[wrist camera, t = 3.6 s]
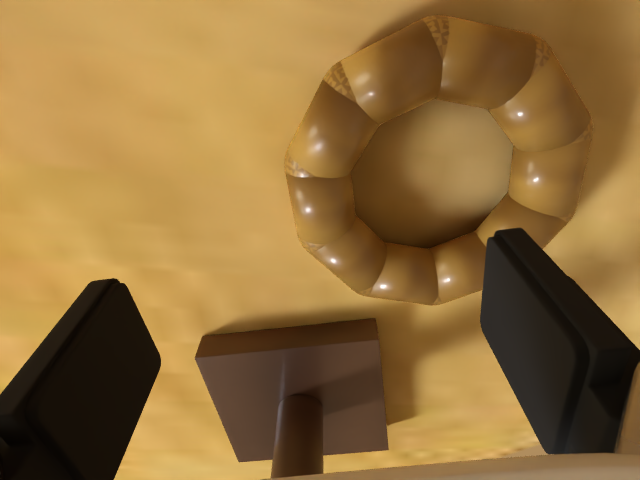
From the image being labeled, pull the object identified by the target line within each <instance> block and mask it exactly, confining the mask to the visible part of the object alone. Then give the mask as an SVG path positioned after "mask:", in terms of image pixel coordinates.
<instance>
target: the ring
mask: <svg viewBox="0 0 640 480" xmlns="http://www.w3.org/2000/svg"><path fill="white" fill-rule="evenodd" d="M433 99H439V100H444V101H449V102H455V103H460V104H465V105H470V106H476V107H481V108H486V109H488V110H489V112H490V113H491V115H492V116H493V117H494V119H495V120H496V121H497V123H498V124H499V126H500V127H501V128H502V130H503V131H504V132H505V134H506V135H507V137H508V138H509V139H510V141H511V142H512V143H513V145H514V146H513V155H512V164H511V173H510V182H509V190H508V193H507V194H506V195H505V196H504V197H503V199H502V200H501V201H500V202H499V203H498V205H497V206H496V207H495V208H494V209H493V210H492V212H491V213H490V214H489V215H488V216H487V218H486V219H485V220H484V221H483V222H482V223H481V225H480V226H479V227H478V228H477V229H476V231H473V232H471V233H468V234H466V235H463V236H460V237H458V238H455V239H453V240H450V241H447V242H445V243H442V244H440V245H437V246H434V247H432V248H429V249H426V248H419V247H413V246H406V245H400V244H393V243H387V242H383V241H382V240H381V239H380V238H379V237H378V236H377V235H376V234H375V233H374V232H373V231H372V230H371V229H370V228H369V227H368V226H367V225H366V224H365V223H364V222H363V221H362V220H361V219H360V218H359V217H357V216H356V215H355V207H354V197H353V188H352V178H351V171H352V169H353V167H354V166H355V164H356V162H357V161H358V159H359V157H360V156H361V154H362V152H363V151H364V149H365V147H366V146H367V144H368V143H369V141H370V139H371V138H372V136H373V134H374V133H375V131H376V129H377V128H378V126H379V125H380V124H382V123H384V122H386V121H388V120H391V119H393V118H395V117H397V116H399V115H401V114H403V113H405V112H408V111H410V110H412V109H414V108H416V107H418V106H420V105H422V104H425V103H427V102H429V101H431V100H433ZM592 136H593V120H592V117H591V115H590V113H589V111H588V109H587V108H586V106H585V104H584V103H583V101H582V99H581V98H580V96H579V95H578V93H577V91H576V90H575V88H574V86H573V85H572V83H571V81H570V80H569V78H568V76H567V75H566V73H565V71H564V70H563V68H562V66H561V65H560V63H559V61H558V60H557V58H556V56H555V55H554V53H553V51H552V50H551V48H550V47H549V46H548V44H547V43H546V42H545V41H544V40H543V39H541V38H540V37H538V36H536V35H533V34H531V33H526V32H521V31H517V30H512V29H507V28H502V27H498V26H493V25H488V24H483V23H479V22H474V21H469V20H464V19H460V18H455V17H450V16H445V15H433V16H428V17H425V18H422V19H420V20H418V21H416V22H414V23H412V24H410V25H408V26H406V27H405V28H403V29H401V30H399V31H397V32H395V33H393V34H391V35H389V36H387V37H385V38H383V39H382V40H380V41H378V42H376V43H374V44H372V45H370V46H368V47H366V48H364V49H362V50H360V51H358V52H357V53H355V54H353V55H351V56H349V57H347V58H345V59H343V60H341V61H339V62H338V63H336V64H335V65H334V66H333V67H332V68H331V69H330V70H329V71H328V72H327V74H326V75H325V77H324V78H323V80H322V82H321V84H320V86H319V88H318V90H317V92H316V94H315V96H314V98H313V100H312V102H311V104H310V106H309V108H308V110H307V112H306V114H305V116H304V118H303V120H302V122H301V124H300V126H299V128H298V130H297V132H296V134H295V136H294V138H293V140H292V142H291V144H290V146H289V148H288V150H287V152H286V155H285V162H284V163H285V173H286V178H287V183H288V188H289V193H290V199H291V204H292V209H293V214H294V219H295V224H296V230H297V235H298V238H299V240H300V242H301V244H302V246H303V247H304V248H305V249H306V250H307V251H308V252H309V253H310V254H311V255H313V256H314V257H315V258H316V259H317V260H318V261H319V262H321V263H322V264H323V265H324V266H325V267H326V268H328V269H329V270H330V271H331V272H332V273H333V274H335V275H336V276H337V277H338V278H339V279H340V280H342V281H343V282H344V283H345V284H346V285H347V286H349V287H350V288H351V289H352V290H353V291H355V292H356V293H358V294H360V295H363V296H368V297H375V298H382V299H389V300H396V301H403V302H410V303H417V304H424V305H440V304H443V303H446V302H449V301H452V300H455V299H458V298H460V297H463V296H466V295H469V294H472V293H475V292H478V291H480V290H483V279H484V268H485V256H486V244H487V239H488V238H489V237H494V233H495V231H497V230H503V229H511V228H522V229H524V230H525V231H526V232H527V234H528V235H529V236H530V237H531V238H532V239H533V240H534V241H535V242H536V243H537V244H538V245H539V246H540V247H541V249H543V248H544V247H545V246H546V245H547V244H548V243H549V242H550V241H551V240H552V239H553V238H554V237H555V236H556V235H557V234H558V233H559V232H560V231H561V229H562V228H563V227H564V226H565V225H566V224H567V223H568V222H569V221H570V220H571V219H572V217H573V216H574V214H575V212H576V209H577V206H578V201H579V197H580V192H581V187H582V183H583V178H584V173H585V169H586V164H587V159H588V155H589V150H590V145H591V141H592Z"/></svg>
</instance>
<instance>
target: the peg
mask: <svg viewBox="0 0 640 480" xmlns="http://www.w3.org/2000/svg"><path fill="white" fill-rule="evenodd" d="M195 360H196V362H197V365H198V367H199V369H200V372H201V374H202V377H203V379H204V381H205V384H206V386H207V388H208V391H209V393H210V395H211V398H212V400H213V402H214V405H215V407H216V410H217V412H218V414H219V417H220V419H221V421H222V424H223V426H224V428H225V431H226V433H227V435H228V438H229V440H230V443H231V445H232V447H233V450H234V452H235V454H236V457H237V459H238V461H239V462H248V461H261V460H273V462H272V472H271V479H272V478H283V477H294V476H304V475H315V474H323V455H334V454H346V453H359V452H371V451H383V450H388V437H387V426H386V414H385V402H384V390H383V379H382V367H381V355H380V344H379V336H378V330H377V324H376V319H375V318H373V319H364V320H354V321H345V322H335V323H326V324H316V325H306V326H297V327H287V328H278V329H268V330H259V331H249V332H239V333H230V334H220V335H211V336H203V337H202V339H201V341H200V344H199V347H198V350H197V353H196V356H195Z"/></svg>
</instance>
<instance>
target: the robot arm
mask: <svg viewBox="0 0 640 480" xmlns="http://www.w3.org/2000/svg"><path fill="white" fill-rule="evenodd" d="M480 323H481V328H482V331H483V333H484V335H485V337H486V339H487V341H488V343H489V345H490V347H491V349H492V351H493V353H494V355H495V357H496V359H497V361H498V362H499V364H500V366H501V368H502V370H503V372H504V374H505V376H506V378H507V380H508V382H509V384H510V386H511V388H512V389H513V391H514V393H515V395H516V397H517V399H518V401H519V403H520V405H521V407H522V409H523V411H524V413H525V415H526V417H527V418H528V420H529V422H530V424H531V426H532V428H533V430H534V432H535V434H536V436H537V438H538V440H539V442H540V444H541V445H542V447H543V449H544V450H545V452H546V453H548V454H553V455H539V456H525V457H513V458H512V457H511V458H497V459H484V460H471V461H459V462H448V463H437V464H426V465H414V466H403V467H392V468H381V469H370V470H358V471H347V472H336V473H326V474H315V475H304V476H294V477H283V478H272V479H262V480H640V350H639V349H638V348H637V347H636V346H635V345H634V344H633V343H632V342H631V341H630V340H629V339H628V337H627V336H626V335H625V334H624V333H623V332H622V331H621V330H620V329H619V328H618V327H617V326H616V325H615V324H614V323H613V322H612V320H611V319H610V318H609V317H608V316H607V315H606V314H605V313H604V312H603V311H602V310H601V309H600V308H599V307H598V306H597V305H596V303H595V302H594V301H593V300H592V299H591V298H590V297H589V296H588V295H587V294H586V293H585V292H584V291H583V290H582V289H581V288H580V286H579V285H578V284H577V283H576V282H575V281H574V280H573V279H571V278H570V277H569V276H567V275H566V274H565V273H564V272H563V271H562V270H561V269H560V268H559V267H558V266H557V265H556V264H555V263H554V261H553V260H552V259H551V258H550V257H549V256H548V255H547V254H546V253H545V252H544V251H543V250H542V249H541V247H540V246H539V245H538V244H537V243H536V242H535V241H534V240H533V239H532V238H531V237H530V236H529V235H528V234H527V232H526V231H525V230H524V229H522V228H511V229H503V230H497V231H495V233H494V237H489V238H488V239H487V244H486V256H485V268H484V279H483V291H482V302H481V314H480ZM160 366H161V358H160V354H159V352H158V350H157V348H156V346H155V344H154V342H153V340H152V338H151V335H150V333H149V331H148V329H147V327H146V325H145V323H144V321H143V319H142V317H141V315H140V313H139V310H138V308H137V306H136V304H135V302H134V300H133V298H132V296H131V294H130V292H129V290H128V288H127V286H126V285H125V284H124V283H120V282H119V281H118V280H117V279H114V278H113V279H105V280H97V281H92V282H90V283H89V284H88V285H87V287H86V288H85V289H84V290H83V292H82V293H81V294H80V295H79V297H78V298H77V299H76V300H75V302H74V303H73V304H72V305H71V307H70V308H69V309H68V310H67V312H66V313H65V314H64V315H63V317H62V318H61V319H60V320H59V322H58V323H57V324H56V325H55V327H54V328H53V329H52V330H51V332H50V333H49V334H48V335H47V337H46V338H45V339H44V340H43V342H42V343H41V344H40V346H39V347H38V348H37V349H36V351H35V352H34V353H33V354H32V356H31V357H30V358H29V359H28V361H27V362H26V363H25V364H24V366H23V367H22V368H21V369H20V371H19V372H18V373H17V374H16V376H15V377H14V378H13V379H12V381H11V382H10V383H9V384H8V386H7V387H6V388H5V389H4V391H3V392H2V393H1V394H0V480H114V478H115V475H116V473H117V470H118V468H119V466H120V463H121V461H122V458H123V456H124V454H125V451H126V449H127V446H128V444H129V442H130V439H131V437H132V434H133V432H134V430H135V427H136V425H137V422H138V420H139V418H140V415H141V413H142V410H143V408H144V406H145V403H146V401H147V398H148V396H149V394H150V391H151V389H152V386H153V384H154V382H155V379H156V377H157V374H158V372H159V370H160Z"/></svg>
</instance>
